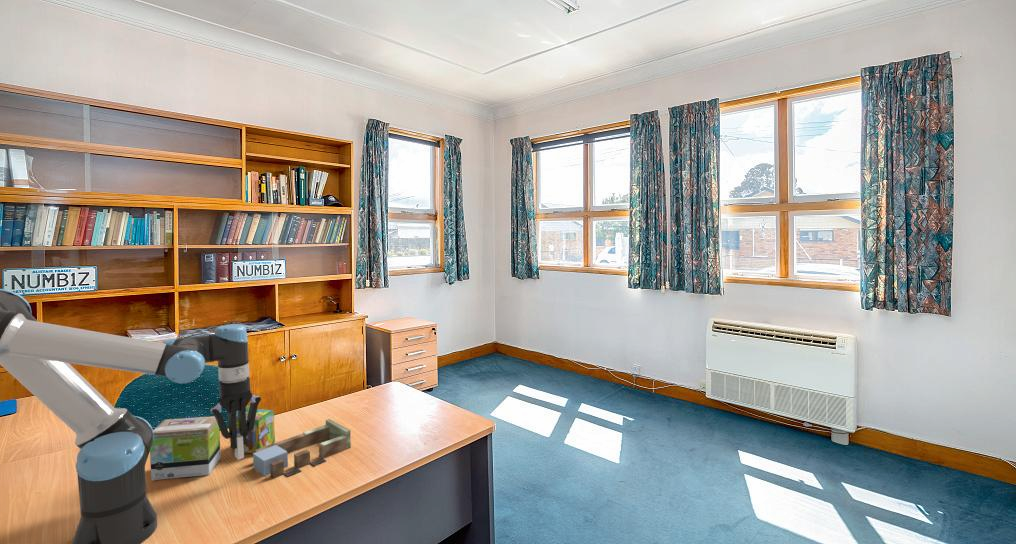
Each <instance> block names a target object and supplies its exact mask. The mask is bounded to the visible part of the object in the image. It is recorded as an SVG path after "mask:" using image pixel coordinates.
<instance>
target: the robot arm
mask: <svg viewBox="0 0 1016 544" xmlns="http://www.w3.org/2000/svg"><path fill="white" fill-rule="evenodd" d="M32 314H33V313H32V308H31V305H30V303H29V301H27V299H26V298H24V297H23V296H22V295H21V294H19V293H16V292H14V291H11V290H10V289H9V290H8V289H4V288H0V366H1V367H3V369H5V370H6V371H7V372H8V373H9V374H10V375H11V376H12V377H13V378H14V379H16V381H18V382H19V383H20V384H21V385H22V386H23V387H25V388H26V390H28V391H29V392H30V393H31V394H32V395H33V396H34V397H36V398H37V399H38V401H40V402H41V403H42V404H43V405H44V406H45V407H46V408H47V409H49V410H50V411H51V413H53V414H54V415H55V416H56V417H57V418H58V419H60V421H61V422H63V423H64V424H65V426H67V427H68V428H69V429H71V430H72V432H74V433H75V434H76V436H75V437H76V438H75V442H74V444H75V446H76V447H77V448H79V451H78V452H77V456H76V462H75V469H76V470H75V471H76V473H77V474H76V475H77V483H78V484H77V485H78V486H77V487H78V496H79V508H80V518H79V521H78V524H77V526H76V530H75V532H74V536H73V539H72V543H71V544H141V543H143V542H144V541H146V540H147V539H148V538H150V537H151V536H152V534H154V532H155V531H156V530H157V527H158V515H157V512H156V510H155V509H154V507H153V505H152V504H151V502H150V500H149V499H148V496H147V486H146V463H147V460H148V457H149V456H150V450H151V448H152V445H153V441H154V434H153V430H154V429H153V427H152V425H151V424H150V422H148V420H146V419H145V418H143V417H141V416H137V415H135V416H134V415H133V414H132V413H131V412H130V411H129V410H128V409H127V408H119V407H118V408H117V407H114V406H113V405H112V404H111V403H110V402H109V401H108V400H107V399H106V398H105V397H104V396H103V395H102V394H101V393H100V392H99V391H98V390H97V389H96V388H95V387H94V386H93V385H92V384H91V383H89V381H88V380H87V379H86V378H85V377H84V376H82V375H81V374H80V372H78V370H76V368H75V367H74V366H72V365H71V364H74V365H81V366H86V367H87V366H89V367H94V368H95V367H97V368H102V369H111V370H117V371H125V372H131V373H138V374H139V373H140V374H146V375H153V376H159V377H167V378H168V380H170V381H172V382H173V383H176V384H188V383H192V382H193V381H195V380H196V379H198V378H199V377H200V376H201V374H202V373H203V371H204V369H205V366H206V363H214V362H217V368H218V369H217V371H218V381H219V383H218V387H219V399H218V401H217V404H216V405H215V406H211V407H210V408H209V411H210V413H211V414H213V416H215V418H216V421H217V423H218V426H219V431H220V433H221V436H222V438H224V439H226V440H229V442H230V448H232V450H234V449H235V453H234V458H236V459H237V460H238V461H240V460H242V459H244V458H245V453H244V447H243V446H244V445H246V444H247V438H246V436H247V435H248V432H249V431H252V430H253V428H254V422H255V417H256V412H257V409H258V406H259V405H260V402H261V401H262V397H260V396H259V395H258V394H257V395H256V394H255V395H254V394H253V392H252V391H251V378H250V377H249V376H250V362H249V344H248V343H249V341H248V340H249V339H248V333H247V326H245V325H244V324H239V323H232V324H231V323H230V324H225V325H224V324H223V325H220V326H218V327H216V328H215V332H214V333H213V334H208V335H207V334H206V335H199V336H195V335H194V336H188V337H187V336H186V337H176V338H172V339H165V340H164V341H163V342H158V341H151V340H148V339H147V340H146V339H141V338H140V339H139V338H134V337H129V336H122V335H117V334H111V333H106V332H99V331H94V330H88V329H82V328H78V327H71V326H66V325H59V324H54V323H53V324H52V323H48V322H42V321H38V320H37V319H36V318H35V316H33V315H32ZM248 404H249V405H250V407H249V412H248V417H247V423H246V411H247V410H246V407H247V406H248ZM222 408H223V409H224V410H226V413H227V419H228V422H227V423H228V427H227V424H226V422H225V419H224V417H223V413H222V410H223V409H222ZM237 416H238V422H239V432H240V434H237V427H236V417H237Z"/></svg>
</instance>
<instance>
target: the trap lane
mask: <svg viewBox="0 0 1016 544" xmlns="http://www.w3.org/2000/svg"><path fill="white" fill-rule="evenodd" d="M351 442H352V441H351V430H350V429H348V428H347V427H345V426H343V425H342V424H340V423H338V422H336V421H335V420H333V419H331V418H328V419H325V424H323V425H321V426H318V427H315V428H312V429H310V430H307V431H304V432H302V433H300V434H297V435H293V436H291V437H289V438H287V439H283V440H280V441H277V442H274V443H273V444H271V445H268V446H265V447H262V448H259V449H256V450H254V453H256V452H258V451H261V450H264V449H266V448H269V447H272V446H274V445H277V446H279V447H281V448H282V449H284V450H285V451H287V453H288V454H291V453H293V452H296V451H298V450H301V449H303V448H306V449H304V450H301V451H298V452H297V453H294V454H293V459H294V461H293V462H294V463H293V466H294V467H295V468H294V469H291V470H289V471H286V472H285V468H284V461H283V460H281V459H280V460H277V461H274V462H272V463H270V469H271V474H270V477H272V478H273V479H275V478H278V477H280V476H283V475H284V476H286V477H287V478H289V477H292V476H294V475H297V474H298V473H299V474H300V473H302V470H301V468H303V467H305V466H308V465H311V466H313V467H316V466H319V465H321V464H324V463H326V462H327V460H326V459H325V458H328V457H330V456H333V455H335V454H338V453H340V452H342V451H346V450H348V449H351V447H352V443H351ZM317 443H319V444H318V457H319V459H316V460H314V461H311V452H310V450H308V449H307V447H309V446H312V445H315V444H317Z"/></svg>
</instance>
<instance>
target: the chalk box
mask: <svg viewBox="0 0 1016 544" xmlns="http://www.w3.org/2000/svg"><path fill="white" fill-rule="evenodd" d="M249 407H250V404H249V405H247V406H246V423H247V417H248V412H249ZM236 427H237V434H240V432H239V422H238V415H236ZM275 434H276V433H275V411H274V409H263V408H261V409H260V408H257V412H256V417H255V422H254V428H253V430H252V431H249V432H248V435H247V436H246V438H247V444H246V445H244V446H243V447H244V454H253V453H254V450H256V449H259V448H262V447H265V446H268V445H271V444H274V443H276V439H275V438H276V436H275ZM233 453H234V454H235V449H233Z"/></svg>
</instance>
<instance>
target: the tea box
mask: <svg viewBox="0 0 1016 544" xmlns="http://www.w3.org/2000/svg"><path fill="white" fill-rule="evenodd" d="M220 433H221V431H220V428H219V426H218V423H217V421H216V418H215V416H214V415H212V416H199V417H198V416H197V417H185V418H171V419H170V418H169V419H164V420H162V422H160V424H158V426H156V427H155V428H154V429H153V434H154V441H153V445H152V448H151V450H150V452H149V460H150V464H149V465H150V476H151V477H150V478H151V481H152V482H153V481H159V480H166V479H169V480H170V479H178V478H188V477H189V478H190V477H201V476H204V477H205V476H210V474H211V472H212V471H213V470H214V468H215V467H216V466H217V464H218V463H219V461H220V459H221V439H220V438H221V437H220Z"/></svg>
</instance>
